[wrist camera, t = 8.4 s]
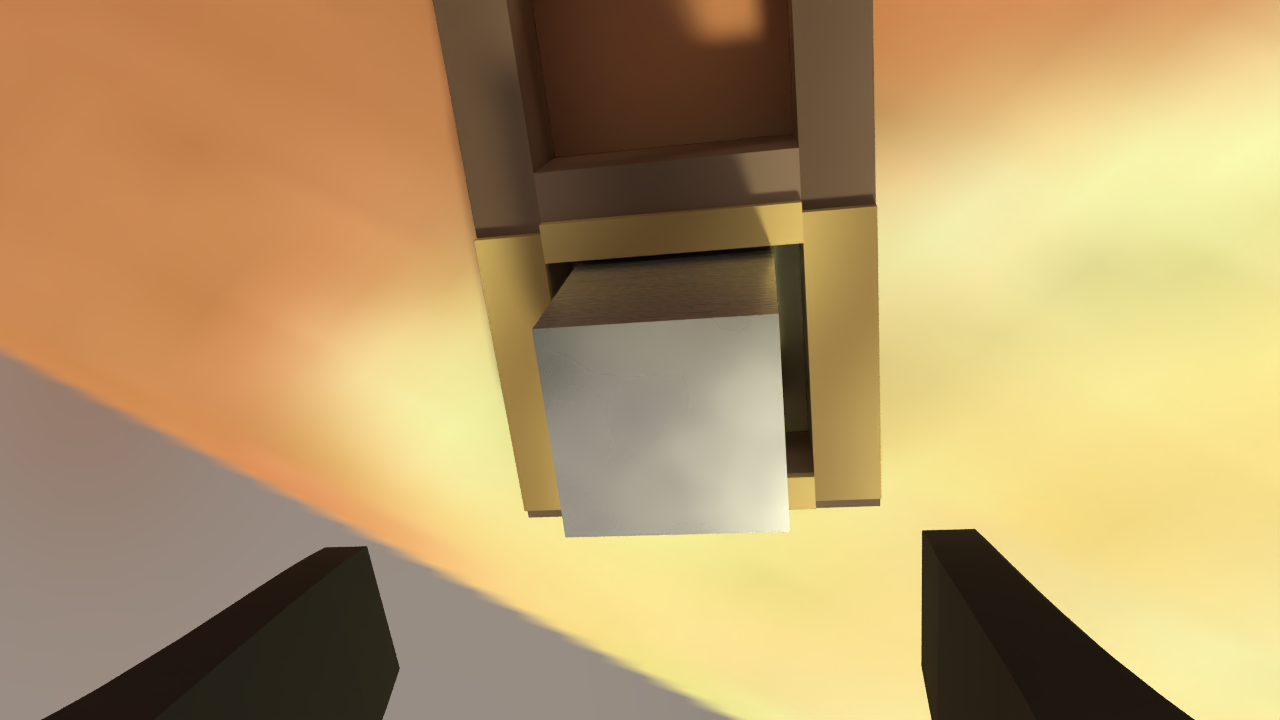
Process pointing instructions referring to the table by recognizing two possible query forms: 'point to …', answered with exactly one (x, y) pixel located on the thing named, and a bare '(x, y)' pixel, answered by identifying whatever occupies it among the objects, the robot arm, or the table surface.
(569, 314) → the metal peg
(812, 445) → the beige slotted frame
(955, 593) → the robot arm
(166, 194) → the table surface
